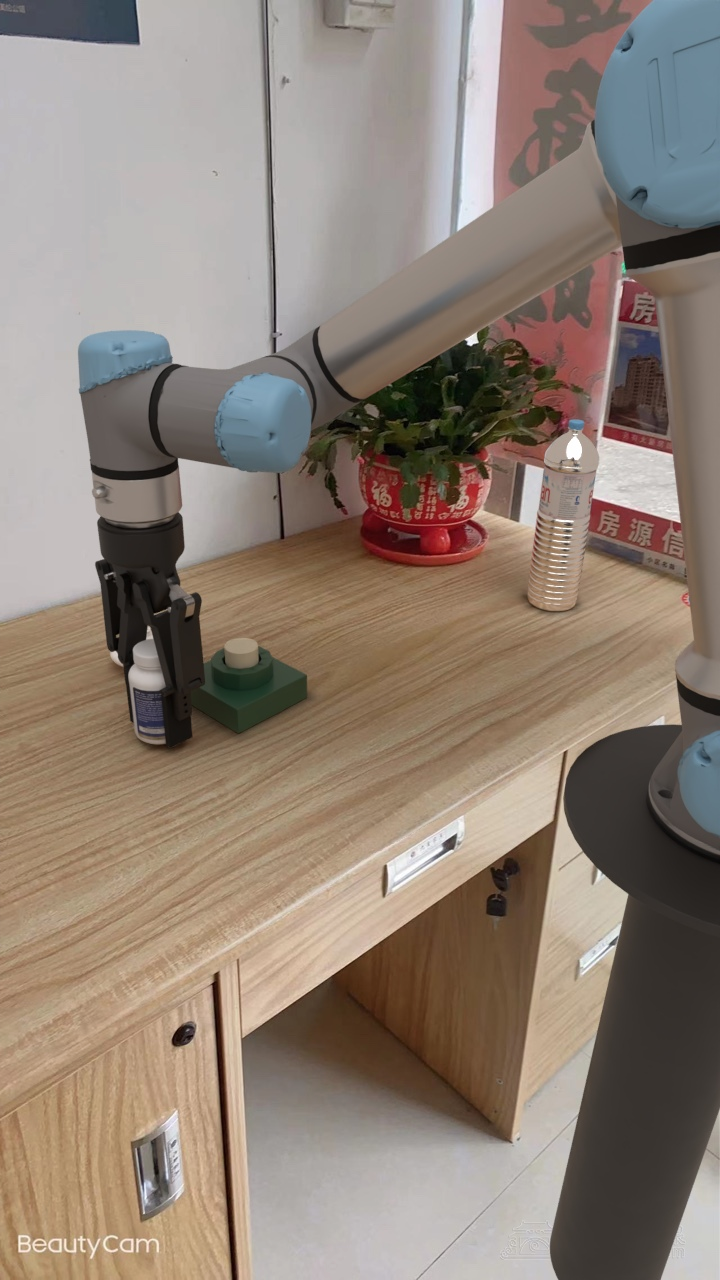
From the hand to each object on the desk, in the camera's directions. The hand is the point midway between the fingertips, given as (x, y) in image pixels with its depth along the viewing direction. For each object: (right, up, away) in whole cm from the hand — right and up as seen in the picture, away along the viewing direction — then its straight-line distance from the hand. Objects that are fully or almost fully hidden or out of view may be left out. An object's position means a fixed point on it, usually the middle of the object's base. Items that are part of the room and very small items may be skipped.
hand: (160, 728), depth 90 cm
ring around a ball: (-5, +6, +14) cm, 16 cm away
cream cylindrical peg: (+8, +7, +6) cm, 12 cm away
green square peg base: (+7, +3, +8) cm, 11 cm away
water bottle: (+47, +14, +31) cm, 58 cm away
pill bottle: (0, 0, 0) cm, 1 cm away
